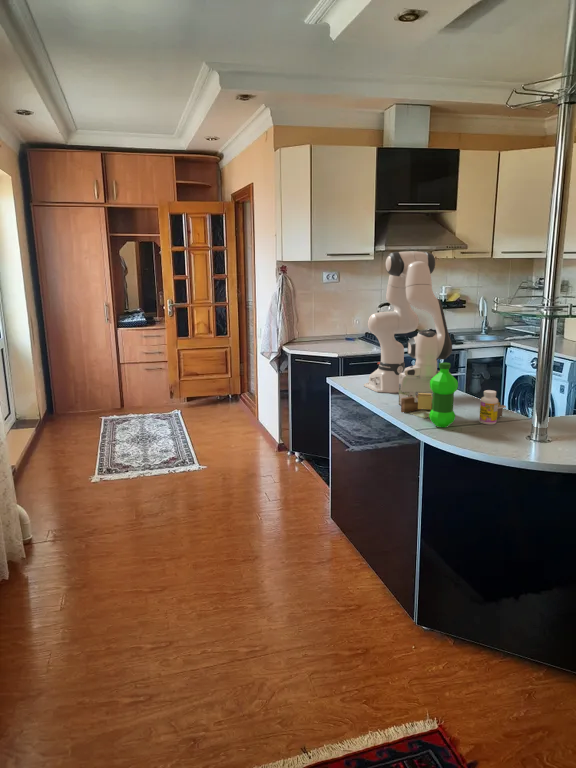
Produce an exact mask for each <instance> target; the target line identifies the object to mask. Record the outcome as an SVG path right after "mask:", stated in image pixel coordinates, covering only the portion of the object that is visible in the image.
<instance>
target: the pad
mask: <svg viewBox="0 0 576 768" xmlns="http://www.w3.org/2000/svg"><path fill="white" fill-rule="evenodd" d="M430 412H431V411H429V410H426V409H421V410H416V411H412V412H409V414H410V415H412V414H413V415H412V416H415V417H417V418H421V419H428V418H430V417H429V414H430ZM427 417H428V418H427Z"/></svg>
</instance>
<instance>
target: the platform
mask: <svg viewBox="0 0 576 768" xmlns="http://www.w3.org/2000/svg"><path fill="white" fill-rule="evenodd" d="M505 408H507V405H504V404H501V402H498V412H497V418H501V417H500V416H502V417H503V411H504V410H503V409H505Z"/></svg>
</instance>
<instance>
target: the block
mask: <svg viewBox="0 0 576 768" xmlns="http://www.w3.org/2000/svg"><path fill="white" fill-rule="evenodd" d="M417 395H418V409H420V410H426V409H431V404H432V396H433V393H423V392H417Z"/></svg>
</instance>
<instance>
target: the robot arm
mask: <svg viewBox="0 0 576 768" xmlns="http://www.w3.org/2000/svg"><path fill="white" fill-rule="evenodd" d="M435 268H436V258H435V255H434V254H433V253H432V252H428V251H416V250H414V251H413V250H410V251H409V250H408V251H392V252H389V253H388V254H387V257H386V259H385V271H386V272H387V273H388V275H389V276H388V281H387V286H386V287H387V288H386V292H385V293H386V295H385V299H386V301H387V303H388V304H390V305H391V306H393V310H392V311H380V312H375V313H372V314H371V315H370V316H369V318H368V321H367V327H368V330H369V331H370V333H371V334H373V335H374V336H375V337H376V339H377V340H378V342H379V345H380V361H377V365H378V368H377V369H375V370H374V371H373V372H371V373H370V374H369V377H368V382H365V383H364V384H363V387H365V388H367V389H369V390H372V391H374V392H376V393H390V394H392V393H394V394H395V393H399V374H401V373H403V372H404V375H403V377H402V381H401V391H402V392H412V395H413V397H414V398H415V400H414V402H418V398H416V396H415V392H416V393H432V394H433V391H432V390H431V389H430V381H431V379H432V378H433V377H434V376H435V375H437V374H438V373H439V372H440V370H438V360H446V359H447V358H449V356H451V354H452V353H453V344H452V343H453V342H452V339H451V338H450V335H449V330H448V325H447V321H446V317H445V312H444V308H443V305H442V302H441V299H439V298H437V297H436V295H435V293H434V291H433V283H432V276H431V274H433V272H434V270H435ZM412 307H413V308H414V309H418V310H420V311H424V312H425V313H427V314H429V315H430V316H431V317H432V318H433V321H434V325H435V331H436V332H435V331H433V330H428V329H424V330H423V329H422V330H420V331H418V333H417V335H415V336H413V337H411V338H410V339H408V341H407V354H408V356H410V357H411V358H412V359H415V363H414V365H411V366H408V367H405V365H406V363H405V361H404V360H405V359H404V356H405V348H404V345H403V344H402V343H401V342H399V341H398V340H396V339H395V335H397V334H398V335H399V334H408V333H412V332H414V331H416V330H417V329H418V327H419V323H420V320H419V316H418V315H417V313H416V312H415V311H414V310H413V309H412ZM449 373H450V374H451V375H452V376H453V374H452V373H451V372H450V371H449ZM432 400H433V398H432Z"/></svg>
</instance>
